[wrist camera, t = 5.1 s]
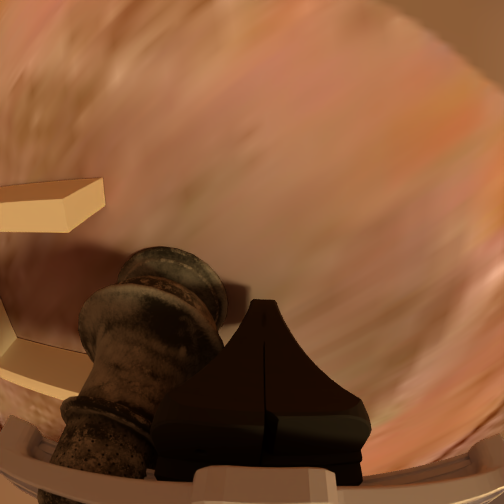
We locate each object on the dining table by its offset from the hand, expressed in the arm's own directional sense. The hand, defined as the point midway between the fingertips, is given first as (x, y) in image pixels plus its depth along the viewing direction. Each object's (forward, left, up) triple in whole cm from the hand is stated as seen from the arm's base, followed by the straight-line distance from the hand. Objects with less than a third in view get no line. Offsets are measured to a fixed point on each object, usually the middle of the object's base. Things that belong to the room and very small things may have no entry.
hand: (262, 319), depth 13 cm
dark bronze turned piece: (0, +4, -1) cm, 4 cm away
